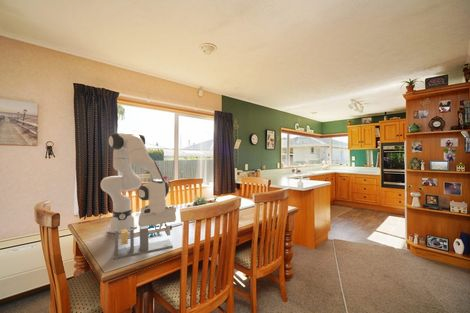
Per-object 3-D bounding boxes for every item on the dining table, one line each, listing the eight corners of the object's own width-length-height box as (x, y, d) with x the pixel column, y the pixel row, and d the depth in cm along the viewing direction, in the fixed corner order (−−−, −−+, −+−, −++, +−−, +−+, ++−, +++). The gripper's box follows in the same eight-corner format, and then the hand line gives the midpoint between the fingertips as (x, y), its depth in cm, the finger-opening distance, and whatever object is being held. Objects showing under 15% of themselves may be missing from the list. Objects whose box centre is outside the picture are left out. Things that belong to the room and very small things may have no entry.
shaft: (119, 239, 118) (118, 228, 118) (170, 230, 132) (170, 220, 131) (118, 244, 111) (118, 233, 111) (172, 234, 125) (172, 224, 124)
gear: (142, 235, 136) (145, 221, 143) (142, 239, 140) (145, 225, 147) (160, 236, 140) (162, 222, 147) (159, 239, 144) (161, 226, 150)
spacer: (121, 240, 118) (121, 229, 118) (127, 239, 120) (127, 228, 119) (121, 245, 113) (121, 233, 112) (127, 243, 114) (127, 232, 114)
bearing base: (114, 251, 118) (114, 226, 118) (169, 240, 132) (169, 218, 132) (113, 259, 109) (113, 232, 109) (172, 247, 124) (172, 223, 123)
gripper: (174, 204, 129) (174, 226, 129) (138, 208, 119) (138, 232, 119) (177, 206, 123) (177, 230, 123) (138, 211, 114) (139, 236, 114)
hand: (157, 231), depth 121 cm, fingers closed
